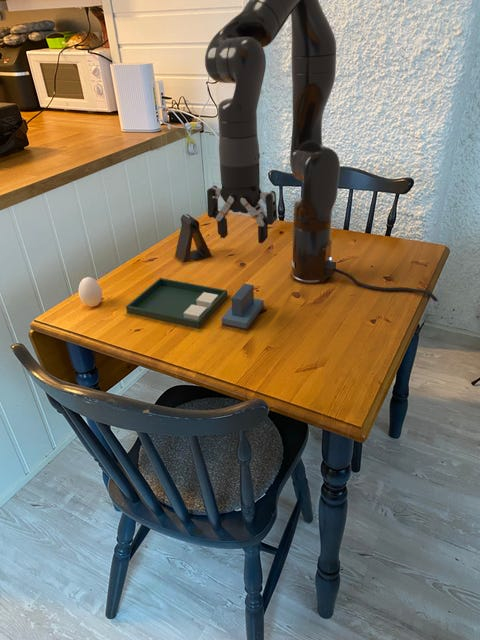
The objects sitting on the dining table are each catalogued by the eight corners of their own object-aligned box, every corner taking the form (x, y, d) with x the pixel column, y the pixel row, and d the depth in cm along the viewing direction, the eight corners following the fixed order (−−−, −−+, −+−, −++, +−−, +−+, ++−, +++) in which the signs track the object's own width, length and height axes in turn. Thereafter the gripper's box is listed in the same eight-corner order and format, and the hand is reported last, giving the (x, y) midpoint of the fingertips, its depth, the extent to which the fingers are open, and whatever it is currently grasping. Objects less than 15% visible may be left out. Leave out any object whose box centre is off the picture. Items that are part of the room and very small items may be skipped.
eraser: (263, 308, 111) (263, 282, 107) (246, 332, 103) (245, 305, 99) (240, 304, 113) (239, 278, 109) (222, 327, 105) (220, 300, 101)
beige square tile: (219, 301, 114) (218, 294, 113) (211, 309, 110) (211, 302, 110) (204, 298, 115) (203, 292, 114) (196, 306, 112) (196, 299, 111)
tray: (227, 298, 116) (227, 290, 114) (199, 330, 104) (198, 322, 103) (161, 285, 122) (160, 277, 121) (127, 314, 111) (125, 306, 109)
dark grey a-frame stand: (183, 264, 132) (178, 223, 126) (175, 256, 137) (170, 217, 130) (211, 256, 136) (208, 217, 129) (202, 249, 140) (199, 210, 134)
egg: (93, 313, 112) (86, 285, 108) (77, 307, 114) (70, 280, 110) (109, 303, 116) (103, 275, 111) (93, 298, 118) (87, 270, 114)
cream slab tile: (207, 313, 109) (207, 307, 108) (199, 322, 106) (199, 316, 105) (192, 310, 110) (191, 304, 109) (184, 319, 107) (183, 312, 106)
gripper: (196, 162, 88) (204, 242, 97) (267, 167, 83) (268, 251, 92) (214, 152, 94) (219, 228, 103) (281, 156, 89) (281, 236, 98)
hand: (242, 239), depth 97 cm, fingers open, 8 cm apart
